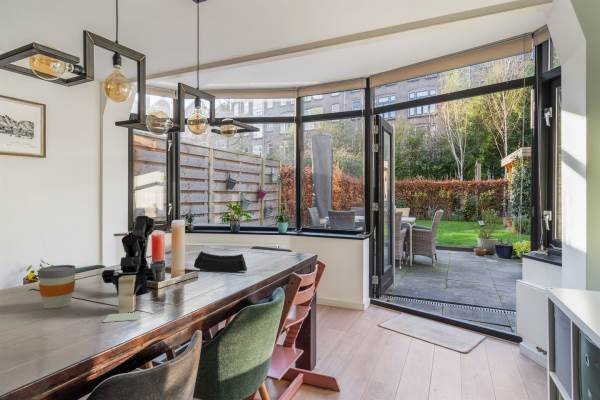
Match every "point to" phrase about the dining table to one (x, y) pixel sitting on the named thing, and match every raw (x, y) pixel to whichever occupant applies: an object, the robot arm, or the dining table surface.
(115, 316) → the mat
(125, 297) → the maple block
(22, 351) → the dining table surface
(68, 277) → the reusable coffee cup
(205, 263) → the magazine
